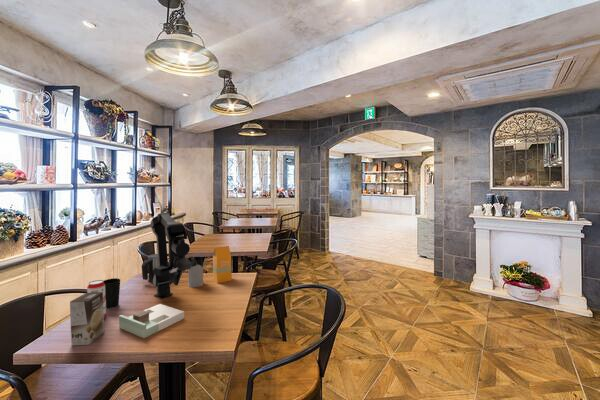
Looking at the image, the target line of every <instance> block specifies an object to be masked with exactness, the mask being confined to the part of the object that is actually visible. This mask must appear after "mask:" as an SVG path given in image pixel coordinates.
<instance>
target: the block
mask: <svg viewBox="0 0 600 400" xmlns="http://www.w3.org/2000/svg"><path fill="white" fill-rule="evenodd" d="M132 315H133V319H134V320H137V321H139V322H142V323H143V322H145V321H148V320H149V312H146V311H144V310H140V311H137V312H135V313H133V314H132Z"/></svg>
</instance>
